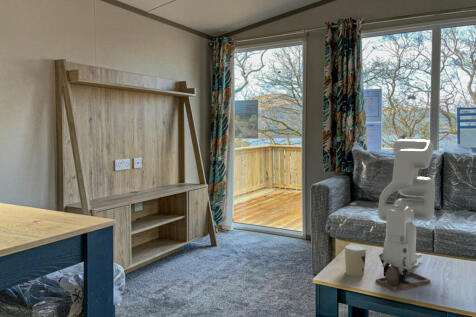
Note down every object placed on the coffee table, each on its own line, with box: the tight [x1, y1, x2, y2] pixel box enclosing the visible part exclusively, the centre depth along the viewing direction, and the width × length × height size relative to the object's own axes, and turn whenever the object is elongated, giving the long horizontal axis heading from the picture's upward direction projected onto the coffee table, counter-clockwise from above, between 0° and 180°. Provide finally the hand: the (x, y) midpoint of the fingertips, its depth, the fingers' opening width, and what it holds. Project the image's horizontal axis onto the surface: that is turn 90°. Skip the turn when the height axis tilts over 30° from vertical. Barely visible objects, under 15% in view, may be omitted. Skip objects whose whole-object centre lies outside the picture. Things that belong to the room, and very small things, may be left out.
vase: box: [385, 264, 402, 287], centre depth 161 cm, size 7×7×9 cm
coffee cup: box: [344, 244, 367, 277], centre depth 174 cm, size 9×9×12 cm
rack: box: [375, 271, 431, 292], centre depth 165 cm, size 21×13×2 cm, turn 115°
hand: (394, 279), depth 162 cm, fingers open, 7 cm apart
